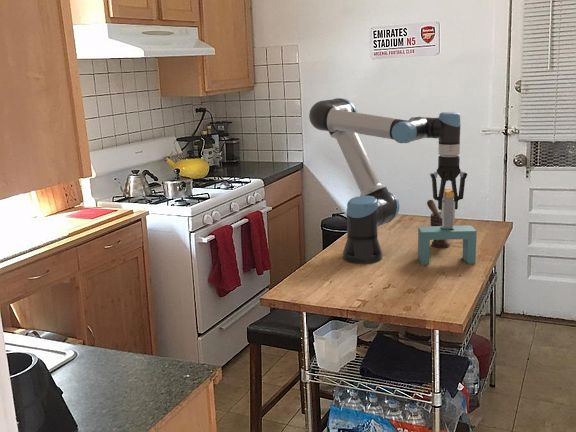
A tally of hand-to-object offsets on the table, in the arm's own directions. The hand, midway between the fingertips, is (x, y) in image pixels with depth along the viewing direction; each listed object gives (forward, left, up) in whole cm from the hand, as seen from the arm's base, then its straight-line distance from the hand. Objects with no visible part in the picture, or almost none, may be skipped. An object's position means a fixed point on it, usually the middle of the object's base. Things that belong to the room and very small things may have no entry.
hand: (447, 217), depth 246 cm
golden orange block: (0, 0, -4) cm, 4 cm away
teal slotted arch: (0, 0, -17) cm, 17 cm away
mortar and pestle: (+1, +19, -17) cm, 25 cm away
